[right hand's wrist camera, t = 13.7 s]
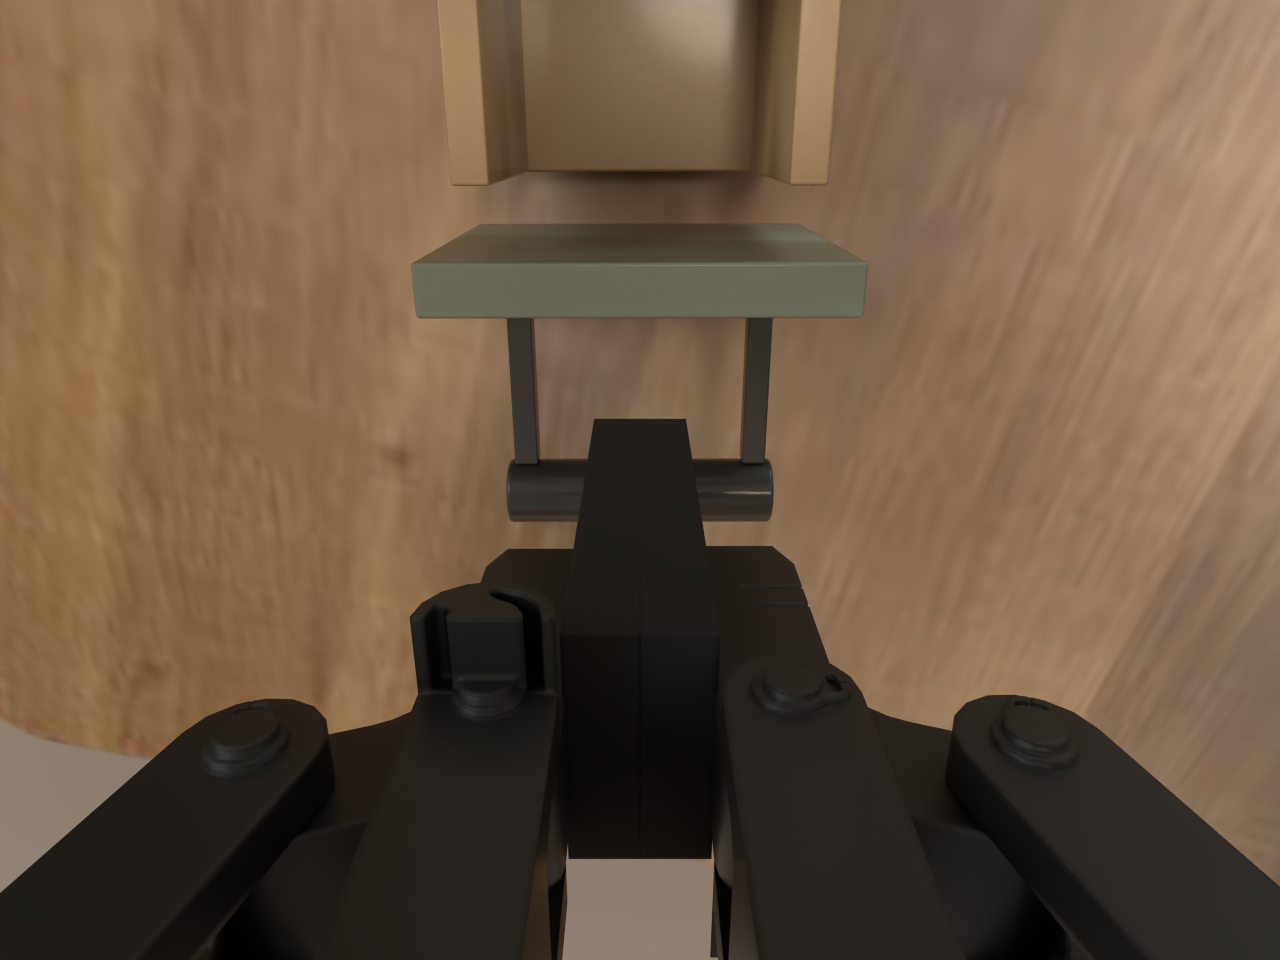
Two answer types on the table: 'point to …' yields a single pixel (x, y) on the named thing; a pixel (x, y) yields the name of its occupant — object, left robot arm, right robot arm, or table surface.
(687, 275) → the drawer
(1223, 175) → the table surface
